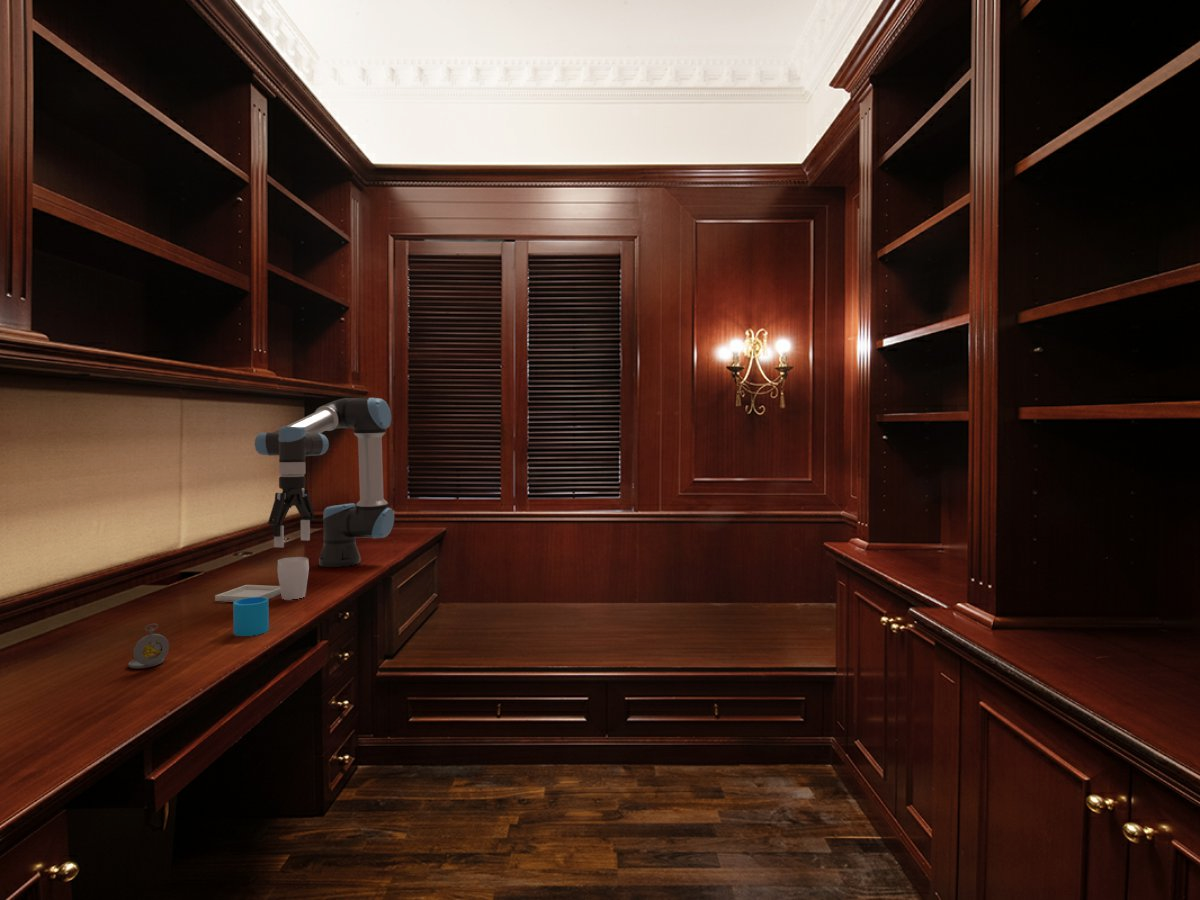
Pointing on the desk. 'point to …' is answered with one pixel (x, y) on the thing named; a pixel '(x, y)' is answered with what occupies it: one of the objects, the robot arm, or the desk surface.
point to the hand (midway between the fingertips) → (292, 543)
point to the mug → (251, 616)
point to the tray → (249, 593)
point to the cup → (293, 577)
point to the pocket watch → (149, 650)
